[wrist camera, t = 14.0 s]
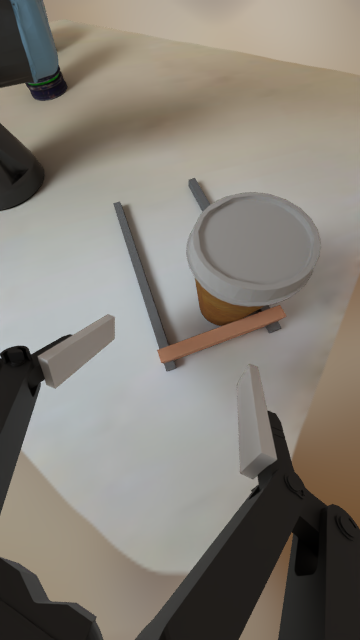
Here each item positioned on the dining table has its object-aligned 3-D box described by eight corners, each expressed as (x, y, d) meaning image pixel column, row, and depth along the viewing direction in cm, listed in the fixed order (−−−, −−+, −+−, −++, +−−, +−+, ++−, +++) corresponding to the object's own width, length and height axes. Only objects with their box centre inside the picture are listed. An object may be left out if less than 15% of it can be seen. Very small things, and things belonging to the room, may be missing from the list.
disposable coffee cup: (249, 272, 24) (303, 181, 12) (263, 335, 21) (352, 290, 9) (185, 278, 24) (181, 194, 13) (190, 340, 21) (191, 303, 10)
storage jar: (61, 100, 42) (-5, -41, 27) (26, 101, 42) (-56, -34, 28) (71, 80, 45) (16, -56, 30) (38, 82, 45) (-31, -50, 31)
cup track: (115, 208, 29) (107, 191, 26) (194, 184, 30) (195, 164, 27) (167, 371, 20) (164, 371, 17) (277, 329, 21) (291, 323, 18)
